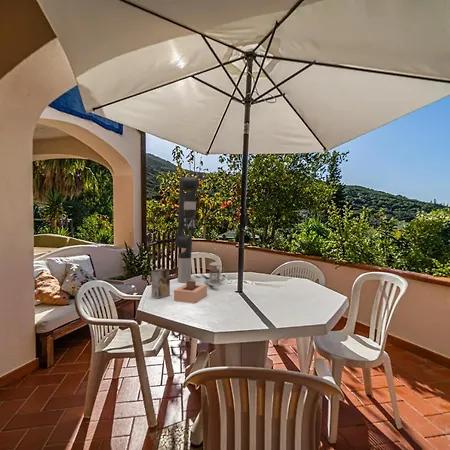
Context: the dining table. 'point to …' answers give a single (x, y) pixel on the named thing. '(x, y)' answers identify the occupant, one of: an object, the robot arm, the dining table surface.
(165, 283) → the coffee box
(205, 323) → the dining table surface
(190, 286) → the walnut post
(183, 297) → the orange rectangular frame
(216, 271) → the french press
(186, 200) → the robot arm
